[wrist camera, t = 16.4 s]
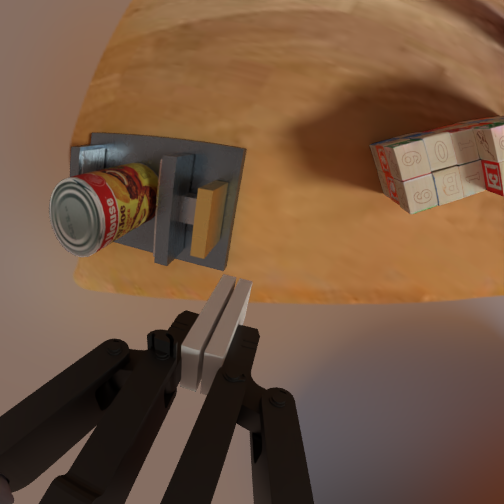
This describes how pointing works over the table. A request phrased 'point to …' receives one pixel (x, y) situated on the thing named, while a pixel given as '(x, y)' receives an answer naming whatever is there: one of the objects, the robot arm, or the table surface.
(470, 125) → the stack of blocks
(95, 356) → the robot arm
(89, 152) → the vise
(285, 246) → the table surface
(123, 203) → the canned food
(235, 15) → the table surface
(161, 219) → the vise jaw
